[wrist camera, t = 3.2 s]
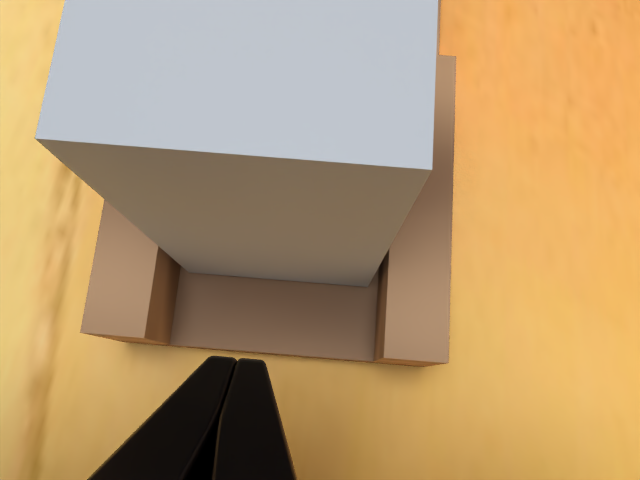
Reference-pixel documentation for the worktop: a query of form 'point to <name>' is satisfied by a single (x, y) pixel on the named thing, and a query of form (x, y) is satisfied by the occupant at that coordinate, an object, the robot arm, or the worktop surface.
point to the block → (250, 126)
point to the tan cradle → (293, 285)
